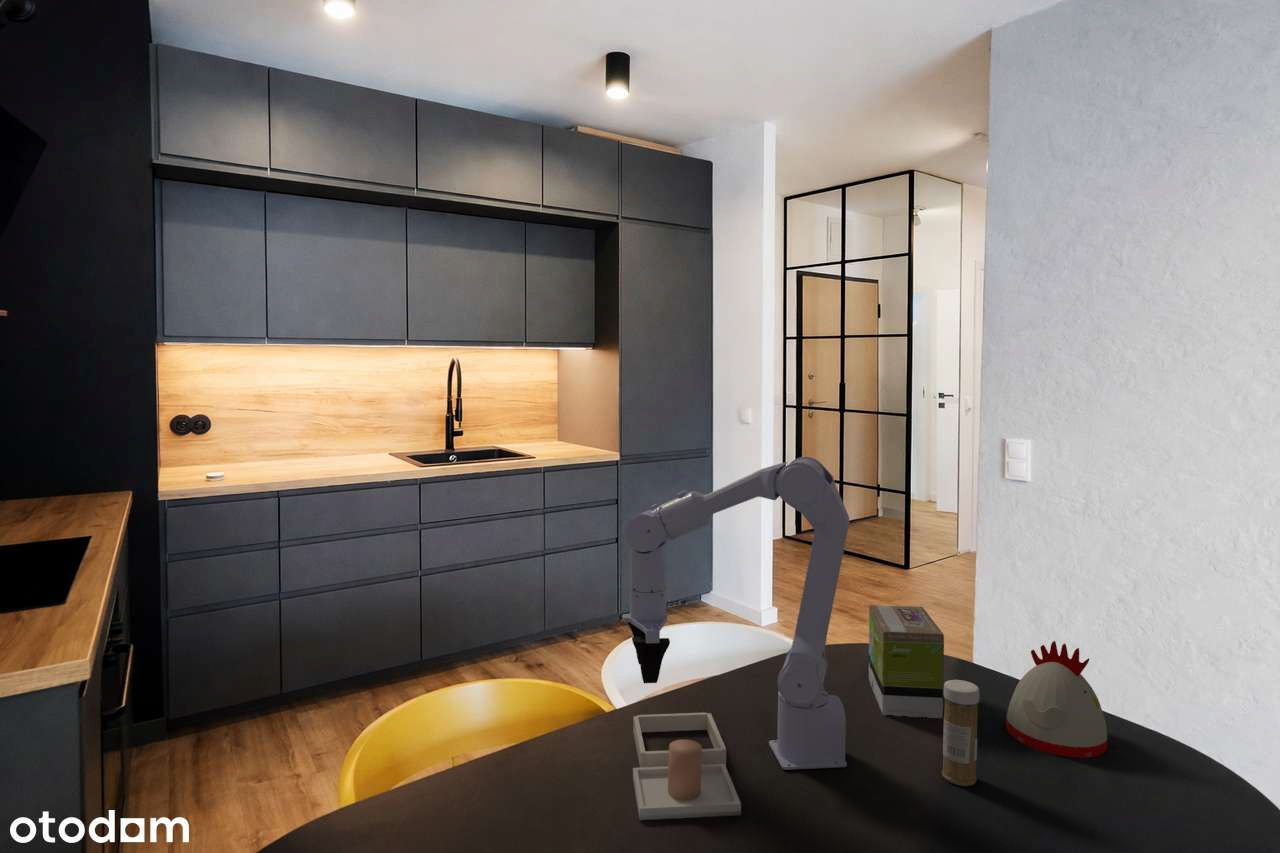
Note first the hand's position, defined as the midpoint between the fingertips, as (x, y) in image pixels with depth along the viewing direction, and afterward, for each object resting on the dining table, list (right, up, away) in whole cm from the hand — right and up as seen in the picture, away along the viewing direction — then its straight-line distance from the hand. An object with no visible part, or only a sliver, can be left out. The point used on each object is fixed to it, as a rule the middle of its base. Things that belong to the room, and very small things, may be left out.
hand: (647, 672), depth 117 cm
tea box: (+45, -9, +13) cm, 48 cm away
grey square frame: (+5, -10, -5) cm, 12 cm away
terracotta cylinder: (+5, -10, -18) cm, 21 cm away
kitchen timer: (+64, -10, 0) cm, 65 cm away
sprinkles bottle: (+44, -11, -13) cm, 47 cm away
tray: (+5, -11, -18) cm, 21 cm away
